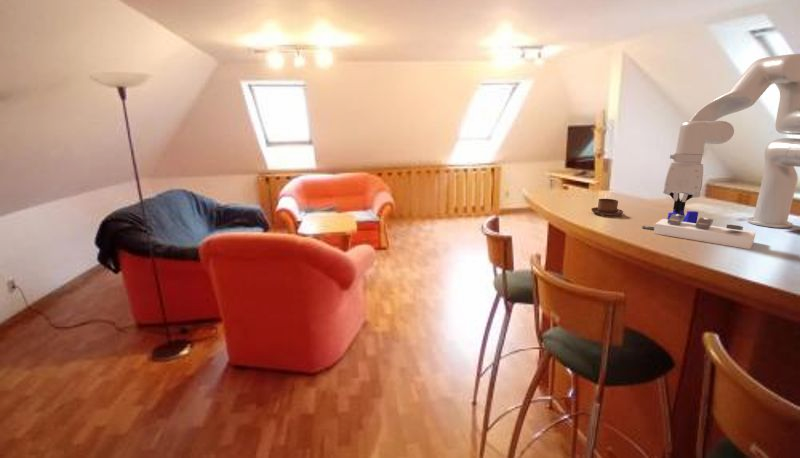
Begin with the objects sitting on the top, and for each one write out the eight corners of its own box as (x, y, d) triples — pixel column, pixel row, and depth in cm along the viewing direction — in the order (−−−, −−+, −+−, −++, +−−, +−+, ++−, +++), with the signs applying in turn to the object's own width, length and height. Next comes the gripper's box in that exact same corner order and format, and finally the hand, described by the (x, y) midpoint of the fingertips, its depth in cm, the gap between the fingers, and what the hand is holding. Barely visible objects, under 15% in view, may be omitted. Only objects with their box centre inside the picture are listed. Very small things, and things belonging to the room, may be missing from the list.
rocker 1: (699, 220, 138) (700, 217, 138) (712, 222, 136) (713, 218, 135) (695, 227, 135) (695, 223, 134) (708, 229, 132) (709, 225, 132)
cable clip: (667, 220, 161) (669, 205, 160) (679, 220, 160) (682, 205, 159) (681, 227, 150) (684, 211, 148) (695, 228, 149) (698, 212, 148)
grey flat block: (672, 216, 144) (672, 213, 143) (684, 218, 141) (684, 215, 141) (667, 223, 140) (667, 219, 140) (679, 225, 138) (680, 221, 137)
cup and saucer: (594, 210, 179) (595, 196, 177) (624, 213, 172) (626, 199, 170) (588, 215, 169) (589, 201, 168) (620, 219, 163) (622, 204, 161)
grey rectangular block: (728, 228, 133) (729, 224, 133) (742, 230, 131) (743, 226, 130) (726, 228, 129) (727, 224, 129) (740, 230, 126) (741, 226, 126)
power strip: (645, 225, 152) (647, 216, 151) (753, 242, 131) (755, 231, 130) (637, 230, 145) (639, 221, 144) (749, 249, 124) (752, 238, 123)
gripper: (659, 158, 139) (650, 210, 144) (713, 161, 129) (702, 217, 134) (665, 157, 144) (656, 207, 149) (717, 160, 134) (706, 214, 139)
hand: (678, 212), depth 141 cm, fingers closed
